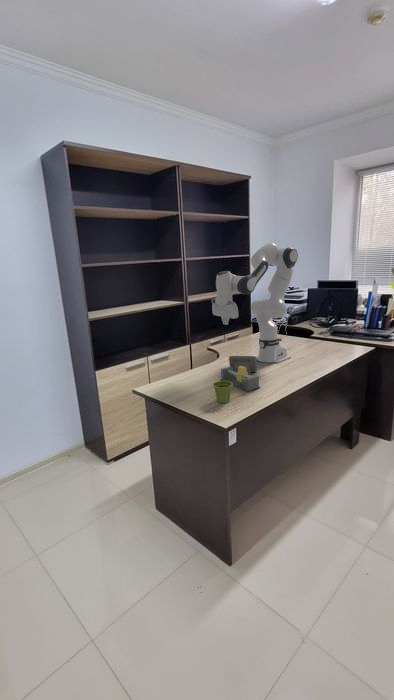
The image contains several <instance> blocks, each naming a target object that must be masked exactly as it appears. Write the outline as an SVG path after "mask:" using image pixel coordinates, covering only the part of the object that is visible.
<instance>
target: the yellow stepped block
mask: <svg viewBox="0 0 394 700" xmlns="http://www.w3.org/2000/svg"><path fill="white" fill-rule="evenodd" d="M243 375H248V372H246V367H243V366H239V367H238V372H237V376H236V377H237V381H239V382H244V380H243Z"/></svg>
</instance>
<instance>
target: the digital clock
mask: <svg viewBox="0 0 394 700" xmlns="http://www.w3.org/2000/svg"><path fill="white" fill-rule="evenodd" d="M228 361H229V367H230V366H231V367H233V371H234V372H238V367H239V366H243V367H246V372H248V375H251V373H256V372H257V371H258V365H257V361H258V360H257V356H256V355H229V357H228Z"/></svg>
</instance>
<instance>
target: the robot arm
mask: <svg viewBox="0 0 394 700" xmlns="http://www.w3.org/2000/svg"><path fill="white" fill-rule="evenodd" d="M298 259H299V253H298V250H297V249H296V248H294V247H290V246H289V247H278V246H277V244H275V243H273V242H267V243H266V244H264V245H262V246H261V247H260V248H259V249H257V250H256V251H255V253H253V254H252V256H251V258H250V263H251V267H252V268H253V271H251V273H250V274H248V275H243V276H242V275H235V274H233V273H231V271H230V270H224V271H219V272H218V273H217V274H216V279H215V288H216V297H215V298H213V299H211V303H212V305H211V310H212V314H213V316H217V317H221V321H222V324H223V325H226V326H227V325H229V321H230V319H233V320H235V319H238V318H239V308H238V305H237V303H236V302H235V301H233V294H242V295H246V296H248V295H250V294H252V293H253V291H255V289H256V286H257V284H258V283H259V281H260V280H261V279H262V278H263V277H264V275H265V274H266V272H267V271H268V270H269V266H270V267H276V270H275V272H274V275H273V277H272V278H271V280H270V283H269V285H268V288H267V292H268V293H269V294H270V295H269V298H268V299H267V298H259V299H255V300H253V301H252V302H251V305H250V312H251V313H252V314H253V315H254V316H255V318H256V321H257V324H258V329H259V331H258V332H259V338H258V345H259V347H258V355H257V358H256V361H259V362H261V363H277V364H279V363H281V362H284V361H286V360H288V359H290V358H291V355H290V354H288V350H287V348H286V347H285V346H283V344H281V343H280V342H283V338H281V337H278V326H277V324H276V323H275V322H274V321H273V319H280V318H283V317H285V315H286V314H287V311H288V306H287V304H286V303H285V295H286V292H287V290H288V288H289V285H290V283H291V280H292V277H293V272H294V270H293V268H294V267H295V265H296V263H297V261H298Z"/></svg>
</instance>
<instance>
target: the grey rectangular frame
mask: <svg viewBox="0 0 394 700" xmlns="http://www.w3.org/2000/svg"><path fill="white" fill-rule="evenodd" d="M220 376H221V377H220V379H219V381H230V382H232V383H233V385H232V387H235V388H236V389H239V390H241V391H243V392H246V393H250V392H252V391H255V390H258V389H261V386H260V376H258V375H254V376H252V375H251V374H250V375H243V380H244V382H239V381H237V372H234V371H233V367H231V366H230V365H229V366H227V367H223V368H221V369H220Z"/></svg>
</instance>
